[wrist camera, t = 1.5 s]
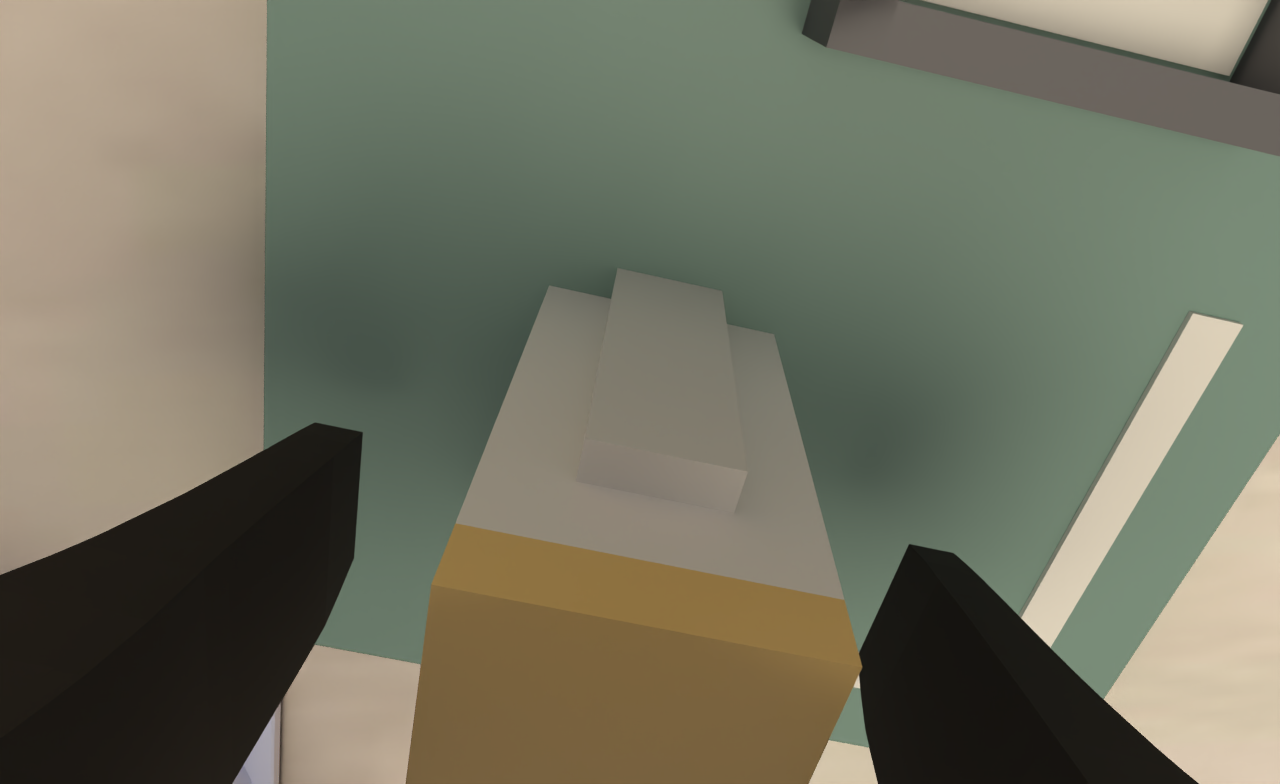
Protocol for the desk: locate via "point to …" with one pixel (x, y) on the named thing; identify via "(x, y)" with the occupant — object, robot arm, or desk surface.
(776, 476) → the plug
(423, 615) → the board
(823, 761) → the desk surface
